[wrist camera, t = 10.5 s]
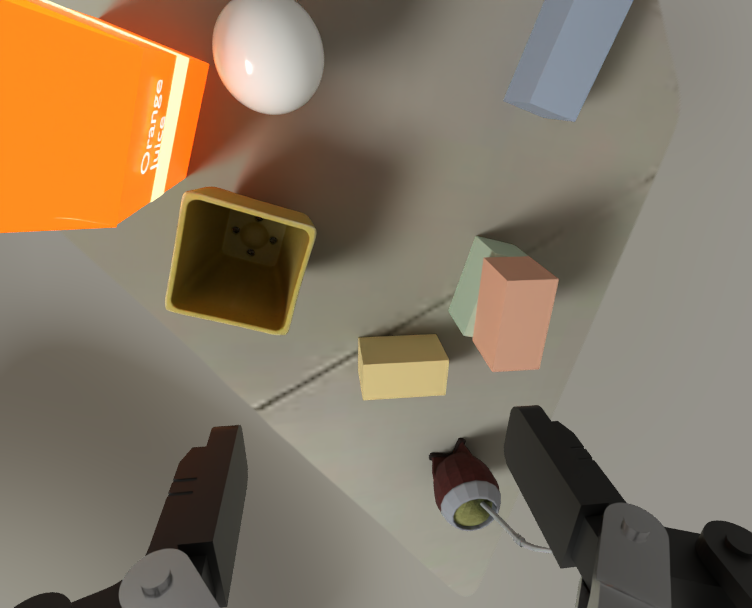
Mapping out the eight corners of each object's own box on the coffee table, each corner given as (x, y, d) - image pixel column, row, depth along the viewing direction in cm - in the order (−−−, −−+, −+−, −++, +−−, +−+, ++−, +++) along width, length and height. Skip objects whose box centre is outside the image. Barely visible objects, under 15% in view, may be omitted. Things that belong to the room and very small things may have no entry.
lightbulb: (332, 96, 34) (340, 99, 24) (253, 119, 34) (230, 131, 24) (306, 1, 31) (303, -39, 21) (220, 25, 31) (178, -3, 21)
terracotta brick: (483, 257, 36) (507, 280, 32) (529, 256, 37) (558, 279, 32) (472, 340, 40) (492, 372, 35) (514, 338, 40) (539, 369, 36)
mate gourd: (417, 476, 54) (452, 604, 40) (437, 426, 50) (482, 547, 37) (472, 481, 55) (524, 606, 42) (495, 433, 52) (558, 552, 39)
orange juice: (81, 143, 33) (-185, 204, 16) (96, 16, 30) (-220, -93, 12) (188, 179, 35) (61, 269, 18) (212, 63, 32) (87, 30, 14)
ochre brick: (358, 370, 46) (362, 400, 41) (358, 336, 44) (363, 364, 40) (432, 365, 47) (445, 395, 42) (435, 333, 45) (449, 360, 41)
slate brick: (548, -10, 33) (585, -25, 29) (591, 11, 34) (633, 0, 30) (502, 101, 36) (529, 102, 32) (543, 117, 37) (574, 121, 33)
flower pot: (212, 166, 35) (182, 189, 27) (317, 199, 37) (318, 228, 29) (194, 265, 39) (163, 311, 31) (291, 289, 41) (286, 338, 33)
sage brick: (475, 235, 41) (495, 253, 36) (513, 244, 42) (537, 263, 37) (448, 310, 44) (463, 335, 40) (484, 317, 45) (502, 342, 40)
